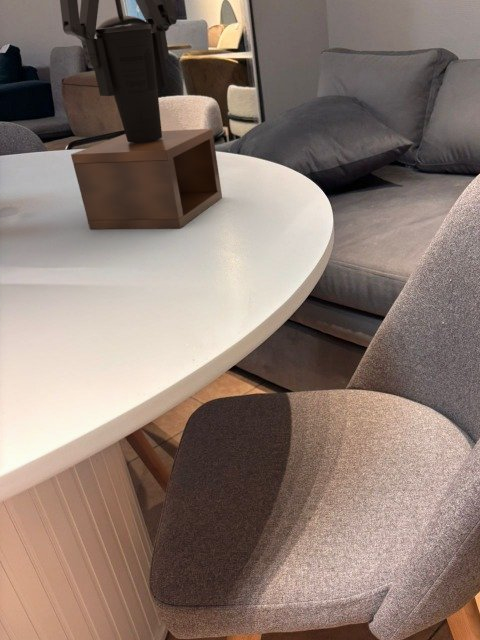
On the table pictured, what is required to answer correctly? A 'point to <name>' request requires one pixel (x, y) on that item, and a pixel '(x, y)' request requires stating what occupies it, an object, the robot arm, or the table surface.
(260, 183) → the table surface
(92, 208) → the walnut shelf
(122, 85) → the drinking cup
